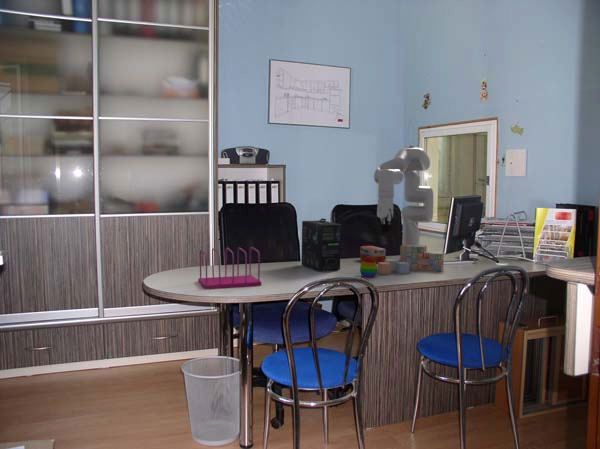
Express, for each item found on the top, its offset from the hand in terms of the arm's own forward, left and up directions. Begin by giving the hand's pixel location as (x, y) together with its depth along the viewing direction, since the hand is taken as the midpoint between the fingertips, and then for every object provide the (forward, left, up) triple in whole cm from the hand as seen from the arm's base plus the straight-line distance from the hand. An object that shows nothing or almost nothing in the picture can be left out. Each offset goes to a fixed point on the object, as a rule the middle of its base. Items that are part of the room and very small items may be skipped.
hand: (385, 232), depth 264 cm
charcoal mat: (-4, +4, -21) cm, 22 cm away
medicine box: (-39, +9, -21) cm, 45 cm away
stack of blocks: (-9, +24, -21) cm, 33 cm away
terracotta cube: (0, 0, -20) cm, 20 cm away
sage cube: (-8, +7, -20) cm, 23 cm away
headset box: (-24, -26, -21) cm, 41 cm away
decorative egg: (+7, -11, -21) cm, 25 cm away
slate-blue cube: (+1, +9, -20) cm, 22 cm away
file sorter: (+8, -77, -21) cm, 80 cm away
